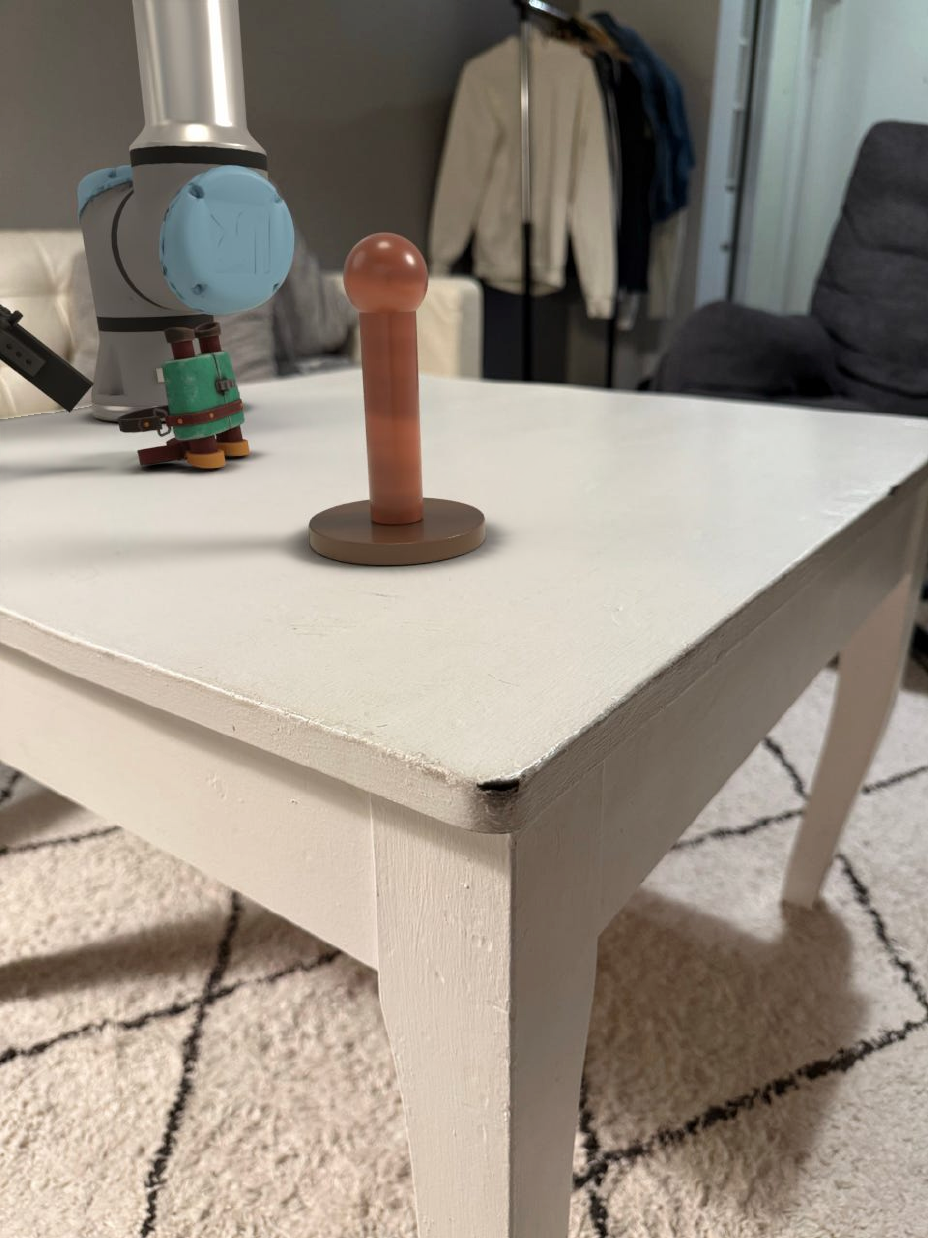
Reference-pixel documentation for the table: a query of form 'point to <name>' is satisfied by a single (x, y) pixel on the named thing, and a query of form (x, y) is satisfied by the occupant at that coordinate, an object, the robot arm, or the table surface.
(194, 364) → the binoculars
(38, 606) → the table surface
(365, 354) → the marker post
